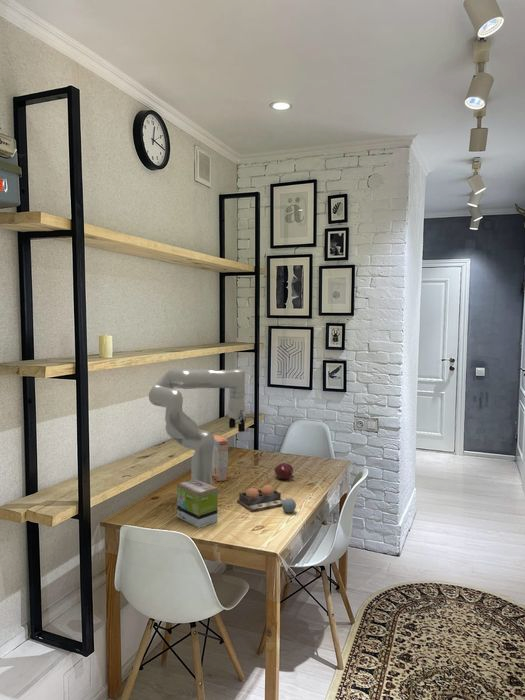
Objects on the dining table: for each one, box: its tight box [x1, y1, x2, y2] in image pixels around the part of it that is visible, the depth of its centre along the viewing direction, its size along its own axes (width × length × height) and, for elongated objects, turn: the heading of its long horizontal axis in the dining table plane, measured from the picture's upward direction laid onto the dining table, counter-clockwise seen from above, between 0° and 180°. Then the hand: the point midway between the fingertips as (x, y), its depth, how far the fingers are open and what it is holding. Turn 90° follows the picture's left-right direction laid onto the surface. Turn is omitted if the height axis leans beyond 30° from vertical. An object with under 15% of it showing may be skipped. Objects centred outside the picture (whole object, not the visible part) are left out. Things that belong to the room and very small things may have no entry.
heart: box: [273, 462, 294, 481], centre depth 275 cm, size 12×8×10 cm
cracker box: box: [212, 434, 229, 482], centre depth 274 cm, size 14×6×21 cm, turn 22°
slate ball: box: [281, 497, 297, 514], centre depth 227 cm, size 6×6×6 cm
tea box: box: [176, 479, 218, 529], centre depth 217 cm, size 15×10×15 cm
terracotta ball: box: [246, 487, 259, 499], centre depth 236 cm, size 6×6×6 cm
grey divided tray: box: [236, 489, 285, 514], centre depth 237 cm, size 18×14×4 cm
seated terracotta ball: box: [260, 484, 275, 496], centre depth 240 cm, size 6×6×6 cm
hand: (236, 429), depth 258 cm, fingers open, 9 cm apart
